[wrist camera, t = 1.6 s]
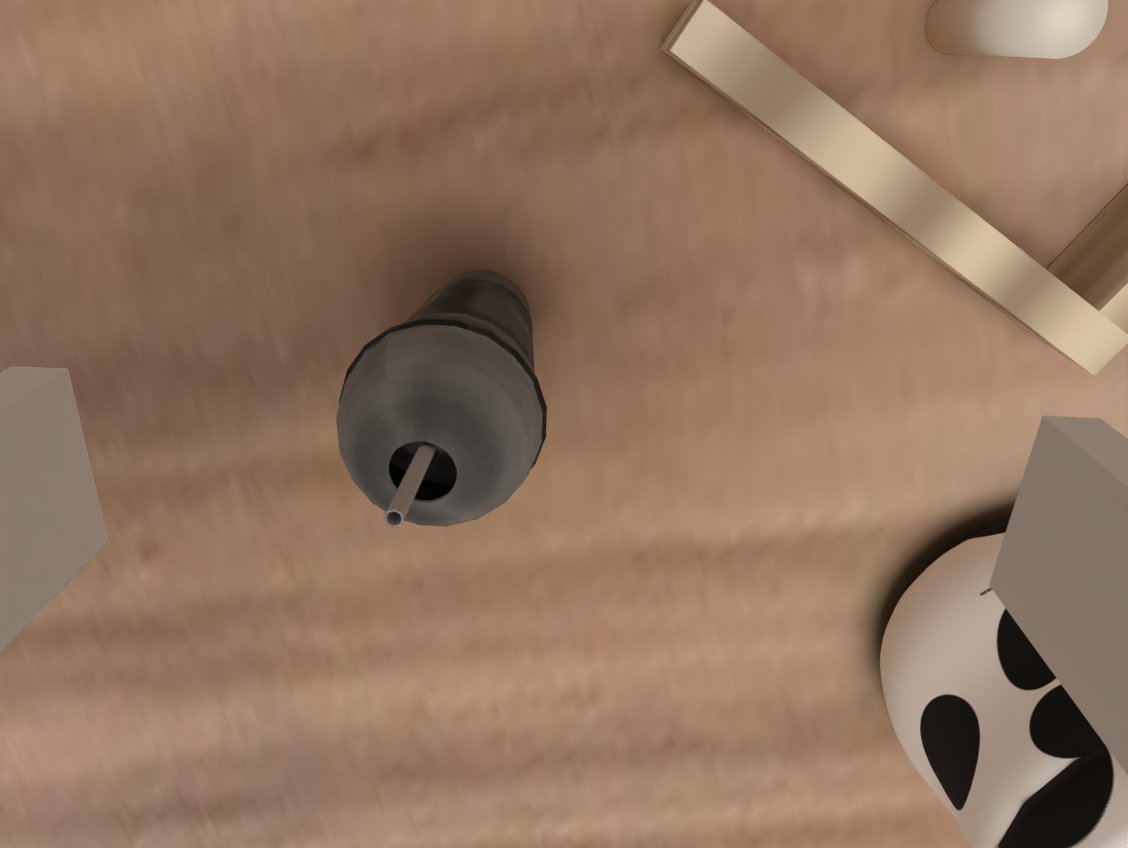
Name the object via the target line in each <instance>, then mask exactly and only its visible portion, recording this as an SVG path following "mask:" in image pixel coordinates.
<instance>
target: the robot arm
mask: <svg viewBox="0 0 1128 848" xmlns="http://www.w3.org/2000/svg"><path fill="white" fill-rule="evenodd" d="M107 541H108V536H107V532H106V528H105V523H104V519H103V515H102V511H101V507H100V502H99V498H98V494H97V490H96V485H95V481H94V477H93V473H92V468H91V464H90V460H89V456H88V451H87V447H86V443H85V439H84V434H83V430H82V426H81V422H80V417H79V413H78V409H77V405H76V400H75V396H74V392H73V388H72V383H71V379H70V375H69V371H68V369H65V368H44V367H23V366H11V367H9V368H7V369H6V370H4V371H2V372H0V652H1V651H2V650H3V649H4V648H5V647H6V646H7V645H8V644H9V643H10V642H11V641H12V640H13V639H14V638H15V637H16V636H17V635H18V634H19V633H20V632H21V631H22V630H23V629H24V627H25V626H26V625H27V624H28V623H29V622H30V621H31V620H32V619H33V618H34V617H35V616H36V615H37V614H38V613H39V612H40V611H41V610H42V609H43V608H44V607H45V606H46V605H47V604H48V603H49V602H50V601H51V599H52V598H53V597H54V596H55V595H56V594H57V593H58V592H59V591H60V590H61V589H62V588H63V587H64V586H65V585H66V584H67V583H68V582H69V581H70V580H71V579H72V578H73V577H74V576H75V575H76V574H77V572H78V571H79V570H80V569H81V568H82V567H83V566H84V565H85V564H86V563H87V562H88V561H89V560H90V559H91V558H92V557H93V556H94V555H95V554H96V553H97V552H98V551H99V550H100V549H101V548H102V547H103V546H104V544H105V543H106V542H107ZM989 586H990V587H991V589H992V590H993V591H994V593H995V594H996V595H997V597H998V598H999V599H1000V601H1001V602H1002V604H1003V605H1004V606H1005V608H1006V609H1007V610H1008V612H1009V613H1010V615H1011V616H1012V617H1013V619H1014V620H1015V621H1016V623H1017V624H1018V626H1019V627H1020V628H1021V630H1022V631H1023V632H1024V634H1025V635H1026V637H1027V638H1028V639H1029V641H1030V642H1031V643H1032V645H1033V646H1034V648H1035V649H1036V650H1037V652H1038V653H1039V654H1040V656H1041V657H1042V659H1043V660H1044V661H1045V663H1046V664H1047V665H1048V667H1049V668H1050V670H1051V671H1052V672H1053V674H1054V675H1055V676H1056V678H1057V679H1058V681H1059V682H1060V683H1061V685H1062V686H1063V687H1064V689H1065V690H1066V692H1067V693H1068V694H1069V696H1070V697H1071V698H1072V700H1073V701H1074V703H1075V704H1076V705H1077V707H1078V708H1079V709H1080V711H1081V712H1082V714H1083V715H1084V716H1085V718H1086V719H1087V720H1088V722H1089V723H1090V725H1091V726H1092V727H1093V729H1094V730H1095V731H1096V733H1097V734H1098V735H1099V737H1100V738H1101V740H1102V741H1103V742H1104V744H1105V745H1106V746H1107V748H1108V749H1109V751H1110V752H1111V753H1112V755H1113V756H1114V757H1115V759H1116V760H1117V762H1118V763H1119V764H1120V766H1121V767H1122V768H1123V770H1124V771H1125V773H1126V774H1127V775H1128V439H1127V438H1126V437H1124V436H1123V435H1122V434H1120V433H1119V432H1118V431H1116V430H1115V429H1114V428H1112V427H1111V426H1110V425H1108V424H1107V423H1106V422H1104V421H1103V420H1102V419H1099V418H1079V417H1058V416H1043V417H1042V420H1041V423H1040V426H1039V429H1038V432H1037V435H1036V439H1035V442H1034V445H1033V448H1032V451H1031V454H1030V457H1029V461H1028V464H1027V467H1026V470H1025V473H1024V476H1023V479H1022V482H1021V486H1020V489H1019V492H1018V495H1017V498H1016V501H1015V504H1014V508H1013V511H1012V514H1011V517H1010V520H1009V523H1008V526H1007V530H1006V533H1005V536H1004V539H1003V542H1002V545H1001V548H1000V551H999V555H998V558H997V561H996V564H995V567H994V570H993V573H992V577H991V580H990V583H989Z"/></svg>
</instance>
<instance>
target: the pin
mask: <svg viewBox="0 0 1128 848" xmlns="http://www.w3.org/2000/svg"><path fill="white" fill-rule="evenodd" d="M1107 12H1108V0H937V1H936V2H935V3H934V4H933V6H932V7H931V9H930V11H929V13H928V16H927V20H926V35H927V38H928V40H929V42H930V44H931V45H932V46H933V47H934V48H935V49H936V50H937V51H939V52H941V53H945V54H960V55H984V56H1007V57H1031V58H1066V57H1070V56H1072V55H1075V54H1077V53H1079V52H1081V51H1082V50H1083V49H1085V48H1086V47H1087V46H1089V45H1090V44H1091V43H1092V42H1093V41H1094V39H1095V38H1096V37H1097V36H1098V34H1099V32H1100V31H1101V29H1102V27H1103V25H1104V23H1105V20H1106V16H1107Z"/></svg>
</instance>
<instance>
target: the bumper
mask: <svg viewBox="0 0 1128 848" xmlns="http://www.w3.org/2000/svg"><path fill="white" fill-rule="evenodd" d="M660 50H661V51H663V52H664V53H665V54H667V55H668V56H669V57H670V58H672V59H673V60H674V61H676V62H677V63H678V64H680V65H681V66H682V67H684V68H685V69H686V70H687V71H689V72H690V73H691V74H693V75H694V76H695V77H697V78H698V79H699V80H701V81H702V82H703V83H704V84H706V85H707V86H708V87H710V88H711V89H712V90H714V91H715V92H716V93H717V94H719V95H720V96H721V97H723V98H724V99H725V100H727V101H728V102H729V103H731V104H732V105H733V106H734V107H736V108H737V109H738V110H740V111H741V112H742V113H744V114H745V115H746V116H748V117H749V118H750V119H751V120H753V121H754V122H755V123H757V124H758V125H759V126H761V127H762V128H763V129H764V130H766V131H767V132H768V133H770V134H771V135H772V136H774V137H775V138H776V139H778V140H779V141H780V142H781V143H783V144H784V145H785V146H787V147H788V148H789V149H791V150H792V151H793V152H794V153H796V154H797V155H798V156H800V157H801V158H802V159H804V160H805V161H806V162H808V163H809V164H810V165H811V166H813V167H814V168H815V169H817V170H818V171H819V172H821V173H822V174H823V175H825V176H826V177H827V178H828V179H830V180H831V181H832V182H834V183H835V184H836V185H838V186H839V187H840V188H841V189H843V190H844V191H845V192H847V193H848V194H849V195H851V196H852V197H853V198H855V199H856V200H857V201H858V202H860V203H861V204H862V205H864V206H865V207H866V208H868V209H869V210H870V211H872V212H873V213H874V214H875V215H877V216H878V217H879V218H881V219H882V220H883V221H885V222H886V223H887V224H888V225H890V226H891V227H892V228H894V229H895V230H896V231H898V232H899V233H900V234H902V235H903V236H904V237H905V238H907V239H908V240H909V241H911V242H912V243H913V244H915V245H916V246H917V247H919V248H920V249H921V250H922V251H924V252H925V253H926V254H928V255H929V256H930V257H932V258H933V259H934V260H935V261H937V262H938V263H939V264H941V265H942V266H943V267H945V268H946V269H947V270H949V271H950V272H951V273H952V274H954V275H955V276H956V277H958V278H959V279H960V280H962V281H963V282H964V283H965V284H967V285H968V286H969V287H971V288H972V289H973V290H975V291H976V292H977V293H979V294H980V295H981V296H982V297H984V298H985V299H986V300H988V301H989V302H990V303H992V304H993V305H994V306H996V307H997V308H998V309H999V310H1001V311H1002V312H1003V313H1005V314H1006V315H1007V316H1009V317H1010V318H1011V319H1012V320H1014V321H1015V322H1016V323H1018V324H1019V325H1020V326H1022V327H1023V328H1024V329H1026V330H1027V331H1028V332H1029V333H1031V334H1032V335H1033V336H1035V337H1036V338H1038V339H1039V340H1041V341H1042V342H1044V343H1045V344H1047V345H1048V346H1050V347H1051V348H1053V349H1054V350H1056V351H1057V352H1059V353H1060V354H1062V355H1063V356H1065V357H1066V358H1068V359H1069V360H1071V361H1072V362H1074V363H1075V364H1077V365H1078V366H1080V367H1081V368H1083V369H1084V370H1086V371H1087V372H1088V373H1090V374H1091V375H1093V376H1094V375H1095V374H1096V373H1097V372H1098V371H1099V370H1100V369H1101V368H1102V367H1103V366H1104V365H1106V364H1107V363H1108V362H1109V361H1110V360H1111V359H1112V358H1113V357H1114V356H1115V355H1116V354H1117V353H1118V352H1119V351H1120V350H1121V349H1122V348H1123V347H1124V346H1125V345H1126V344H1127V343H1128V184H1127V185H1126V186H1125V187H1124V188H1123V189H1122V191H1121V192H1120V193H1119V194H1118V195H1117V196H1116V197H1115V198H1114V199H1113V200H1112V201H1111V202H1110V203H1109V204H1108V205H1107V206H1106V207H1105V208H1104V209H1103V210H1102V211H1101V213H1100V214H1099V215H1098V216H1097V217H1096V218H1095V219H1094V220H1093V221H1092V222H1091V223H1090V224H1089V225H1088V226H1087V227H1086V228H1085V229H1084V230H1083V231H1082V232H1081V233H1080V235H1079V236H1078V237H1077V238H1076V239H1075V240H1074V241H1073V242H1072V243H1071V244H1070V245H1069V246H1068V247H1067V248H1066V249H1065V250H1064V251H1063V252H1062V253H1061V254H1060V255H1059V256H1058V258H1057V259H1056V260H1055V261H1054V262H1053V263H1052V264H1051V265H1050V266H1049V267H1048V268H1047V269H1045V268H1044V267H1042V266H1041V265H1040V264H1039V263H1037V262H1036V261H1035V260H1034V259H1032V258H1031V257H1030V256H1029V255H1027V254H1026V253H1025V252H1024V251H1022V250H1021V249H1020V248H1018V247H1017V246H1016V245H1015V244H1013V243H1012V242H1011V241H1010V240H1008V239H1007V238H1006V237H1005V236H1003V235H1002V234H1001V233H1000V232H998V231H997V230H996V229H995V228H993V227H992V226H991V225H990V224H988V223H987V222H986V221H985V220H983V219H982V218H981V217H979V216H978V215H977V214H976V213H974V212H973V211H972V210H971V209H969V208H968V207H967V206H966V205H964V204H963V203H962V202H961V201H959V200H958V199H957V198H956V197H954V196H953V195H952V194H951V193H949V192H948V191H947V190H946V189H944V188H943V187H942V186H940V185H939V184H938V183H937V182H935V181H934V180H933V179H932V178H930V177H929V176H928V175H927V174H925V173H924V172H923V171H922V170H920V169H919V168H918V167H917V166H915V165H914V164H913V163H912V162H910V161H909V160H908V159H906V158H905V157H904V156H903V155H901V154H900V153H899V152H898V151H896V150H895V149H894V148H893V147H891V146H890V145H889V144H888V143H886V142H885V141H884V140H883V139H881V138H880V137H879V136H878V135H876V134H875V133H874V132H873V131H871V130H870V129H869V128H867V127H866V126H865V125H864V124H862V123H861V122H860V121H859V120H857V119H856V118H855V117H854V116H852V115H851V114H850V113H849V112H847V111H846V110H845V109H844V108H842V107H841V106H840V105H839V104H837V103H836V102H835V101H834V100H832V99H831V98H830V97H828V96H827V95H826V94H825V93H823V92H822V91H821V90H820V89H818V88H817V87H816V86H815V85H813V84H812V83H811V82H810V81H808V80H807V79H806V78H805V77H803V76H802V75H801V74H800V73H798V72H797V71H796V70H795V69H793V68H792V67H791V66H789V65H788V64H787V63H786V62H784V61H783V60H782V59H781V58H779V57H778V56H777V55H776V54H774V53H773V52H772V51H771V50H769V49H768V48H767V47H766V46H764V45H763V44H762V43H761V42H759V41H758V40H757V39H756V38H754V37H753V36H752V35H750V34H749V33H748V32H747V31H745V30H744V29H743V28H742V27H740V26H739V25H738V24H737V23H735V22H734V21H733V20H732V19H730V18H729V17H728V16H727V15H725V14H724V13H723V12H722V11H720V10H719V9H718V8H716V7H715V6H714V5H713V4H711V3H710V2H709V1H708V0H699V1H696V2H693V3H691V4H689V5H688V7H687V8H686V10H685V11H684V13H683V14H682V16H681V17H680V19H679V20H678V22H677V23H676V25H675V26H674V28H673V29H672V31H671V33H670V34H669V36H668V37H667V39H666V40H665V42H664V43H663V45H662V46H661V48H660Z"/></svg>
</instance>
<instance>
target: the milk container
mask: <svg viewBox="0 0 1128 848" xmlns="http://www.w3.org/2000/svg"><path fill="white" fill-rule="evenodd" d="M1008 523H1009V521H1007V522H1004V523H1000V524H997V525H994V526H991V527H988V528H986V529H984V530H982V531H980V532H978V533H976V534H974V535H972V536H970V537H968V538H967V539H965V540H963V541H961V542H960V543H958V544H956V545H954V546H953V547H951V548H949V549H948V550H946V551H945V552H943V553H942V554H940V555H939V556H938V557H936V558H935V559H934V560H933V561H932V562H931V563H930V564H929V565H928V566H927V567H926V568H925V569H924V570H923V571H922V572H921V573H920V574H919V575H918V576H917V577H916V578H915V579H914V580H913V581H912V582H911V583H910V584H909V586H908V587H907V588H906V589H905V591H904V592H903V593H902V595H901V596H900V598H899V600H898V602H897V604H896V606H895V608H894V610H893V613H892V615H891V617H890V619H889V622H888V624H887V627H886V630H885V633H884V636H883V641H882V646H881V653H880V672H881V680H882V686H883V692H884V697H885V702H886V706H887V710H888V713H889V716H890V719H891V723H892V725H893V728H894V730H895V733H896V735H897V737H898V739H899V742H900V744H901V746H902V748H903V749H904V751H905V753H906V754H907V756H908V758H909V759H910V761H911V763H912V764H913V766H914V767H915V768H916V770H917V771H918V772H919V773H920V775H921V776H922V777H923V779H924V780H925V781H926V782H927V784H928V785H929V786H930V787H931V788H932V790H933V791H934V792H935V793H936V794H937V795H938V796H939V798H940V799H941V800H942V801H943V802H944V803H945V805H946V806H947V807H948V808H949V809H950V811H951V812H952V813H953V815H954V817H955V818H956V820H957V822H958V824H959V826H960V828H961V830H962V832H963V834H964V836H965V839H966V841H967V843H968V846H969V848H1128V775H1127V774H1126V773H1125V771H1124V770H1123V768H1122V767H1121V766H1120V764H1119V763H1118V762H1117V760H1116V759H1115V757H1114V756H1113V755H1112V753H1111V752H1110V751H1109V749H1108V748H1107V746H1106V745H1105V744H1104V742H1103V741H1102V740H1101V738H1100V737H1099V735H1098V734H1097V733H1096V731H1095V730H1094V729H1093V727H1092V726H1091V725H1090V723H1089V722H1088V720H1087V719H1086V718H1085V716H1084V715H1083V714H1082V712H1081V711H1080V709H1079V708H1078V707H1077V705H1076V704H1075V703H1074V701H1073V700H1072V698H1071V697H1070V696H1069V694H1068V693H1067V692H1066V690H1065V689H1064V687H1063V686H1062V685H1061V683H1060V682H1059V681H1058V679H1057V678H1056V676H1055V675H1054V674H1053V672H1052V671H1051V670H1050V668H1049V667H1048V665H1047V664H1046V663H1045V661H1044V660H1043V659H1042V657H1041V656H1040V654H1039V653H1038V652H1037V650H1036V649H1035V648H1034V646H1033V645H1032V643H1031V642H1030V641H1029V639H1028V638H1027V637H1026V635H1025V634H1024V632H1023V631H1022V630H1021V628H1020V627H1019V626H1018V624H1017V623H1016V621H1015V620H1014V619H1013V617H1012V616H1011V615H1010V613H1009V612H1008V610H1007V609H1006V608H1005V606H1004V605H1003V604H1002V602H1001V601H1000V599H999V598H998V597H997V595H996V594H995V593H994V591H993V590H992V589H991V587H990V586H989V583H990V580H991V577H992V573H993V570H994V567H995V564H996V561H997V558H998V555H999V551H1000V548H1001V545H1002V542H1003V539H1004V536H1005V533H1006V530H1007V526H1008Z"/></svg>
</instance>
